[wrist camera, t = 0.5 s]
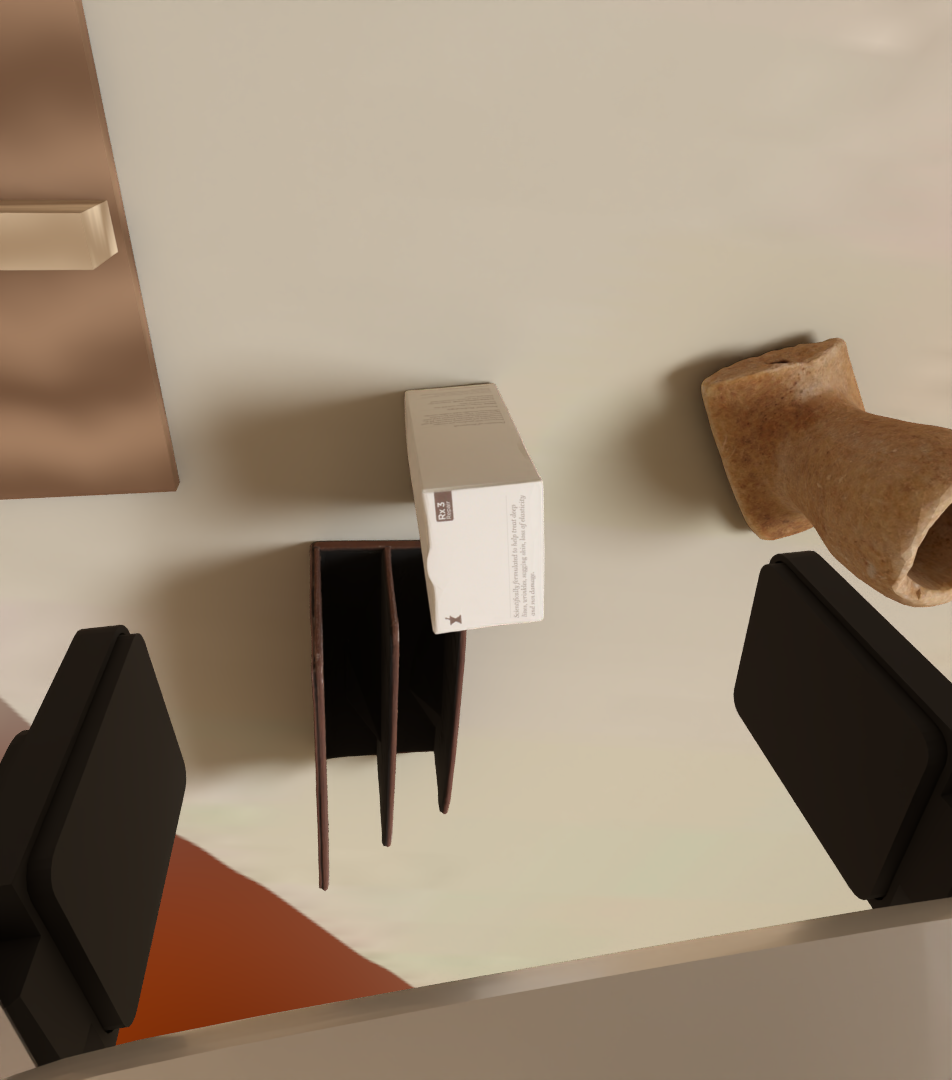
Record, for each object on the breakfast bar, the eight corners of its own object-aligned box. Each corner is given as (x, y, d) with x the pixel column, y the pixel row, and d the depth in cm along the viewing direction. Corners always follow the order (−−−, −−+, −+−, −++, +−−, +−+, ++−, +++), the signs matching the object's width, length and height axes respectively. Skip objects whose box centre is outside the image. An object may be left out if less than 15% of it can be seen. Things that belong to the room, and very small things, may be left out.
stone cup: (890, 473, 54) (1058, 589, 42) (741, 545, 56) (859, 679, 43) (859, 285, 46) (1054, 358, 34) (685, 374, 48) (810, 476, 35)
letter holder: (317, 748, 60) (312, 911, 48) (309, 538, 50) (301, 679, 38) (439, 741, 62) (463, 897, 50) (456, 536, 51) (491, 671, 40)
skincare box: (498, 493, 50) (551, 628, 37) (409, 503, 49) (433, 644, 37) (494, 373, 46) (553, 481, 33) (397, 383, 45) (419, 496, 32)
